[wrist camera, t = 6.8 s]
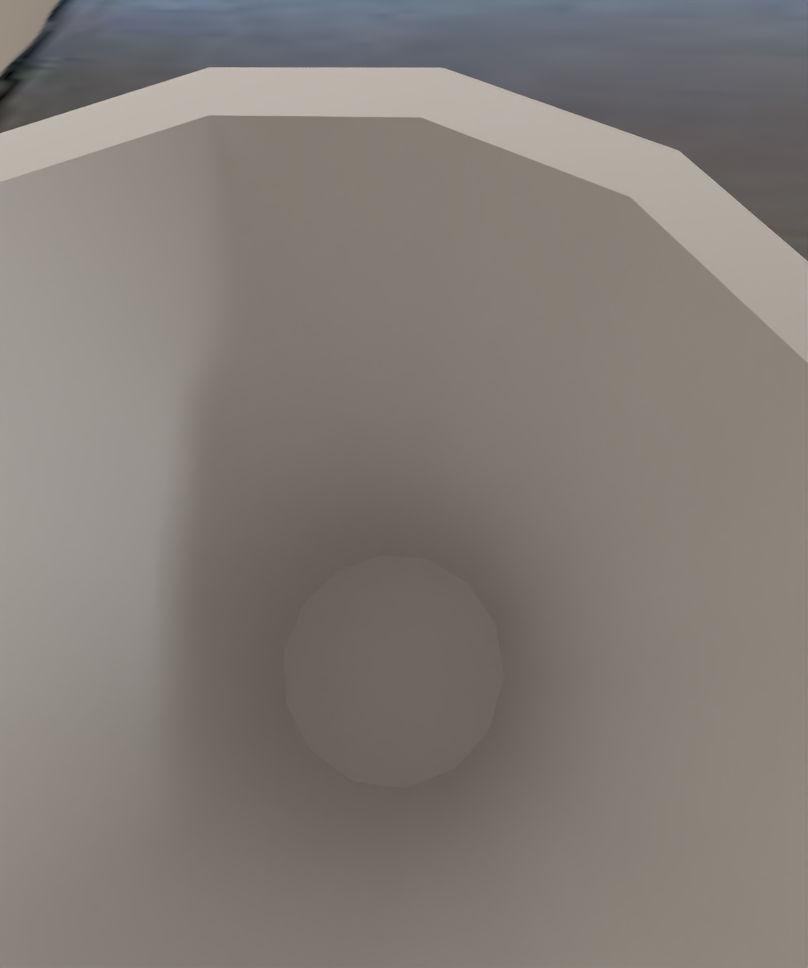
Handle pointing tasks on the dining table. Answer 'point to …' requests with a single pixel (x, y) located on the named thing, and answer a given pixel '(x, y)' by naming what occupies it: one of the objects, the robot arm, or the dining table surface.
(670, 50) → the dining table surface
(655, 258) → the foam cup
